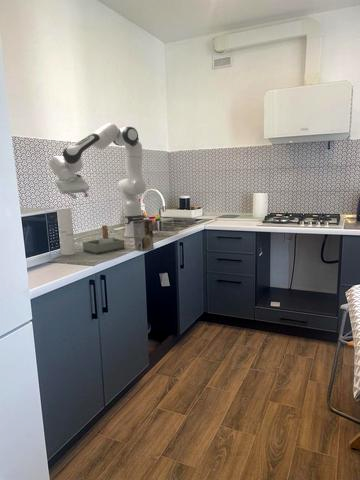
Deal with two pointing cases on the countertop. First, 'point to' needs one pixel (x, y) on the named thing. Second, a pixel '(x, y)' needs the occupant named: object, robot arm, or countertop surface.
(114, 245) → the grey open box
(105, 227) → the brown wooden cylinder
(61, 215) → the cylindrical container
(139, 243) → the coffee box
